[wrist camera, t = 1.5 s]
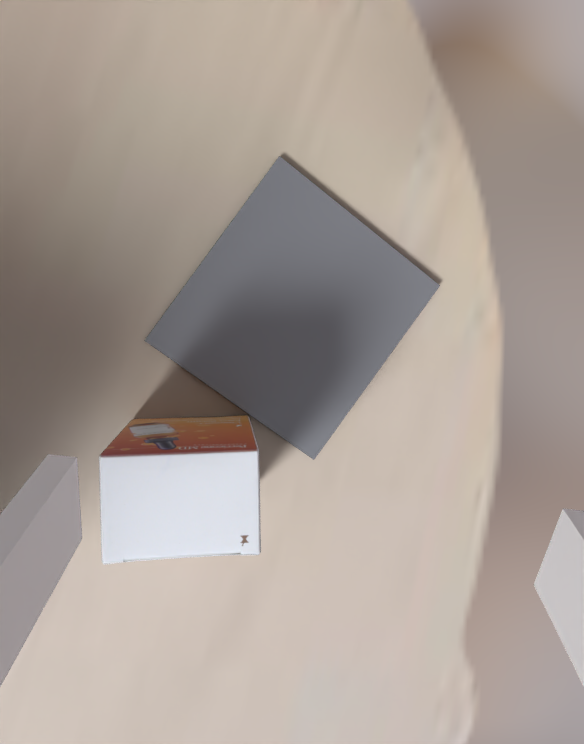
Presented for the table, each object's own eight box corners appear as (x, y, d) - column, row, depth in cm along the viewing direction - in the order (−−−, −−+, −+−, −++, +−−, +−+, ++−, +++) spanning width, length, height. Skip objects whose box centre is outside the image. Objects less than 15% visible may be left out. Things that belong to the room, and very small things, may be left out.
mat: (145, 340, 36) (144, 340, 36) (278, 157, 36) (279, 156, 36) (312, 458, 39) (313, 459, 38) (437, 285, 39) (440, 285, 38)
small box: (249, 414, 38) (263, 448, 27) (250, 493, 38) (264, 557, 28) (129, 417, 37) (95, 453, 26) (131, 499, 37) (99, 567, 27)
